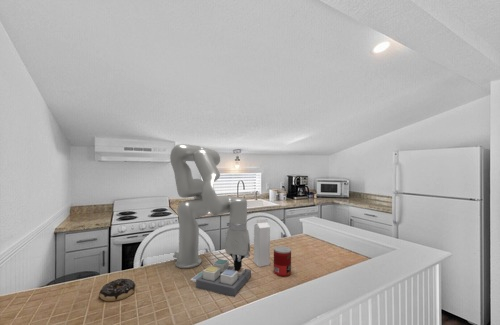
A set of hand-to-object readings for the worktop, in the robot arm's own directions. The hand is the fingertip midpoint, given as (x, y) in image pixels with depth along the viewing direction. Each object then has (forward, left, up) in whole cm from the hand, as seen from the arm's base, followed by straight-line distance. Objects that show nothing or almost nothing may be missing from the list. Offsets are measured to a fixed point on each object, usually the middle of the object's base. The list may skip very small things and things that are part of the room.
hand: (237, 269), depth 98 cm
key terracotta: (0, 0, -3) cm, 3 cm away
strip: (-16, -3, -4) cm, 17 cm away
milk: (+4, +20, -4) cm, 20 cm away
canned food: (+16, +14, -4) cm, 22 cm away
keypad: (-4, -4, -4) cm, 7 cm away
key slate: (0, -8, -1) cm, 8 cm away
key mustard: (-8, -8, -1) cm, 11 cm away
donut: (-37, -27, -5) cm, 46 cm away
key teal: (-8, 0, -1) cm, 8 cm away
